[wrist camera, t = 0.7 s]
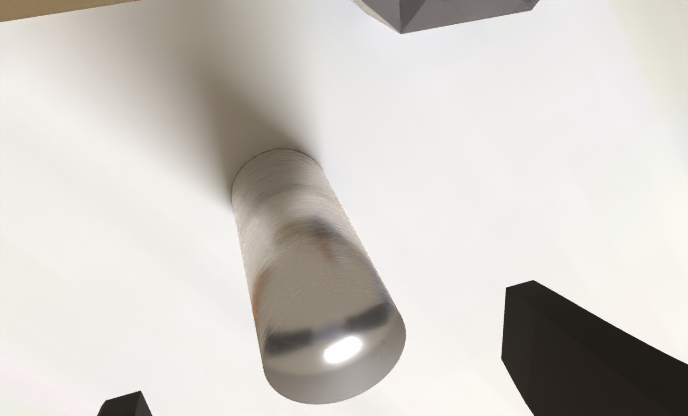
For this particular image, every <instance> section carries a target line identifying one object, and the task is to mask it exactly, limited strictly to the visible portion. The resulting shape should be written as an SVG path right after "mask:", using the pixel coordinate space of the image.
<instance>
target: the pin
mask: <svg viewBox="0 0 688 416" xmlns="http://www.w3.org/2000/svg"><path fill="white" fill-rule="evenodd" d="M231 196H232V204H233V210H234V215H235V220H236V225H237V231H238V236H239V241H240V247H241V252H242V257H243V263H244V268H245V273H246V279H247V284H248V289H249V295H250V300H251V305H252V311H253V316H254V321H255V327H256V332H257V337H258V343H259V348H260V353H261V359H262V364H263V369H264V373H265V376H266V379H267V380H268V382H269V384H270V385H271V386H272V387H273V389H274V390H275V391H277V392H278V393H279V394H280V395H282V396H284V397H286V398H288V399H290V400H293V401H296V402H300V403H305V404H329V403H335V402H339V401H343V400H346V399H349V398H352V397H355V396H357V395H359V394H361V393H363V392H365V391H367V390H368V389H370V388H371V387H373V386H374V385H376V384H377V383H378V382H380V381H381V380H382V379H383V378H384V377H385V376H386V375H387V374H388V373H389V372H390V371H391V370H392V369H393V367H394V366H395V365H396V363H397V361H398V360H399V358H400V356H401V354H402V351H403V348H404V345H405V340H406V330H405V325H404V322H403V319H402V317H401V315H400V313H399V312H398V310H397V308H396V306H395V304H394V302H393V300H392V299H391V297H390V295H389V293H388V291H387V289H386V287H385V286H384V284H383V282H382V280H381V278H380V276H379V275H378V273H377V271H376V269H375V267H374V265H373V263H372V262H371V260H370V258H369V256H368V254H367V252H366V251H365V249H364V247H363V245H362V243H361V241H360V239H359V238H358V236H357V234H356V232H355V230H354V228H353V226H352V225H351V223H350V221H349V219H348V217H347V215H346V214H345V212H344V210H343V208H342V206H341V204H340V202H339V201H338V199H337V197H336V195H335V193H334V191H333V189H332V188H331V186H330V184H329V182H328V180H327V178H326V177H325V175H324V173H323V171H322V169H321V168H320V166H319V165H318V164H317V163H316V162H315V161H314V160H313V159H312V158H310V157H309V156H307V155H306V154H304V153H301V152H299V151H295V150H290V149H276V150H271V151H267V152H264V153H262V154H259V155H257V156H256V157H254V158H252V159H251V160H250V161H248V162H247V163H246V164H245V165H244V166H243V167H242V168H241V170H240V171H239V172H238V174H237V176H236V178H235V180H234V183H233V186H232V193H231Z"/></svg>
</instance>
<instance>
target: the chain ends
mask: <svg viewBox="0 0 688 416" xmlns="http://www.w3.org/2000/svg"><path fill="white" fill-rule="evenodd" d="M132 1H138V0H0V22H4V21H11V20H17V19H23V18H30V17H36V16H43V15H49V14H55V13H62V12H68V11H74V10H81V9H87V8H93V7H100V6H106V5H113V4H119V3H125V2H132ZM352 1H353V2H354V3H355V4H356V5H358V6H359V7H360V8H361V9H362V10H364V11H365V12H366V13H367V14H368V15H370V16H372V17H373V18H375V19H377V20H378V21H380V22H382V23H383V24H385V25H387V26H388V27H390V28H392V29H393V30H395V31H397V32H398V33H400V34H404V33H409V32H415V31H420V30H426V29H431V28H437V27H442V26H448V25H453V24H459V23H464V22H470V21H475V20H481V19H486V18H492V17H497V16H503V15H508V14H514V13H519V12H525V11H530V10H532V9H533V7H534V6H535V5H536V4H537V2H538V1H539V0H352Z"/></svg>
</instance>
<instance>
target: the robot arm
mask: <svg viewBox="0 0 688 416" xmlns="http://www.w3.org/2000/svg"><path fill="white" fill-rule="evenodd" d="M501 359H502V361H503V363H504V365H505V367H506V369H507V370H508V372H509V374H510V376H511V378H512V380H513V382H514V384H515V385H516V387H517V389H518V391H519V392H520V394H521V396H522V398H523V399H524V401H525V403H526V404H527V406H528V407H529V409H530V410H531V412H532V413H533V414H534V416H688V364H686V363H684V362H682V361H680V360H678V359H675V358H673V357H671V356H669V355H667V354H665V353H664V352H662V351H660V350H658V349H656V348H654V347H652V346H650V345H648V344H646V343H644V342H643V341H641V340H639V339H637V338H635V337H633V336H631V335H630V334H628V333H626V332H624V331H622V330H621V329H619V328H617V327H615V326H613V325H612V324H610V323H608V322H606V321H604V320H603V319H601V318H599V317H597V316H596V315H594V314H592V313H590V312H589V311H587V310H585V309H583V308H582V307H580V306H578V305H576V304H575V303H573V302H571V301H570V300H568V299H566V298H564V297H563V296H561V295H559V294H557V293H556V292H554V291H552V290H550V289H549V288H547V287H545V286H543V285H541V284H540V283H538V282H536V281H534V280H532V281H528V282H525V283H521V284H517V285H514V286H510V287H507V288H506V296H505V311H504V326H503V341H502V356H501ZM97 416H152V414H151V412H150V410H149V407H148V405H147V403H146V401H145V399H144V396H143V394H142V392H141V391H138V392H134V393H131V394H127V395H124V396H120V397H117V398H113V399H109V400H106V401H105V402H104V404H103V405H102V406H101V408H100V411H99V413H98V415H97Z"/></svg>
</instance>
